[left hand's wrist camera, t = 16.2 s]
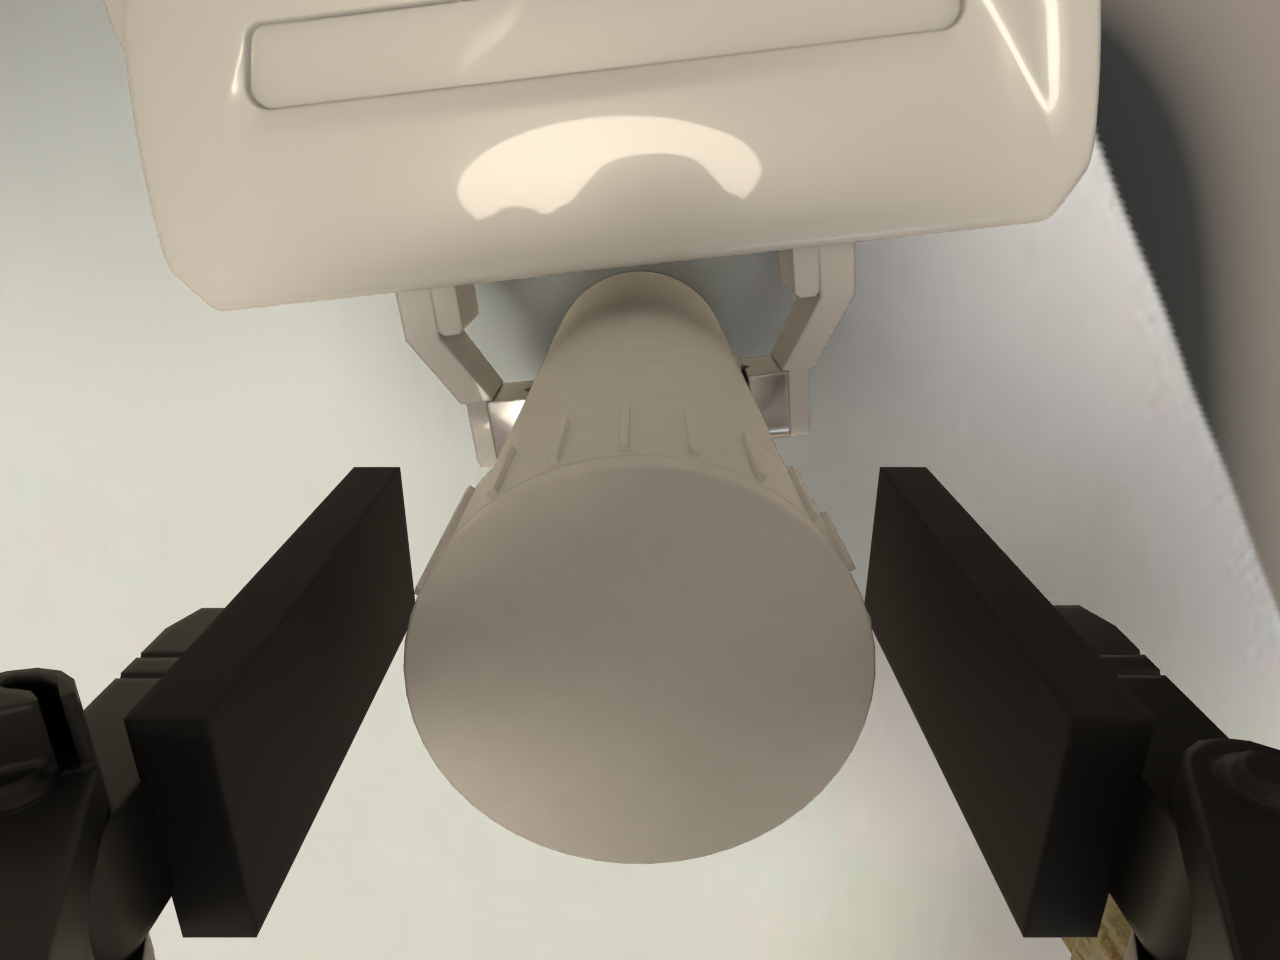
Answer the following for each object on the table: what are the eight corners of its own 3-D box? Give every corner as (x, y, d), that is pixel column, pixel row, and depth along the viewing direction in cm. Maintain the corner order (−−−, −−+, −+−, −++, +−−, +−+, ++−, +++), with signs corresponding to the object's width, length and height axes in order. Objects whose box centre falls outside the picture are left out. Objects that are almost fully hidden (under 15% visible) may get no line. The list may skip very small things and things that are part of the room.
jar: (598, 462, 28) (542, 865, 12) (526, 313, 26) (349, 558, 10) (749, 400, 27) (902, 744, 11) (686, 242, 25) (763, 388, 9)
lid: (809, 771, 13) (839, 881, 11) (438, 747, 13) (402, 854, 11) (876, 421, 11) (928, 481, 9) (434, 388, 11) (388, 440, 9)
